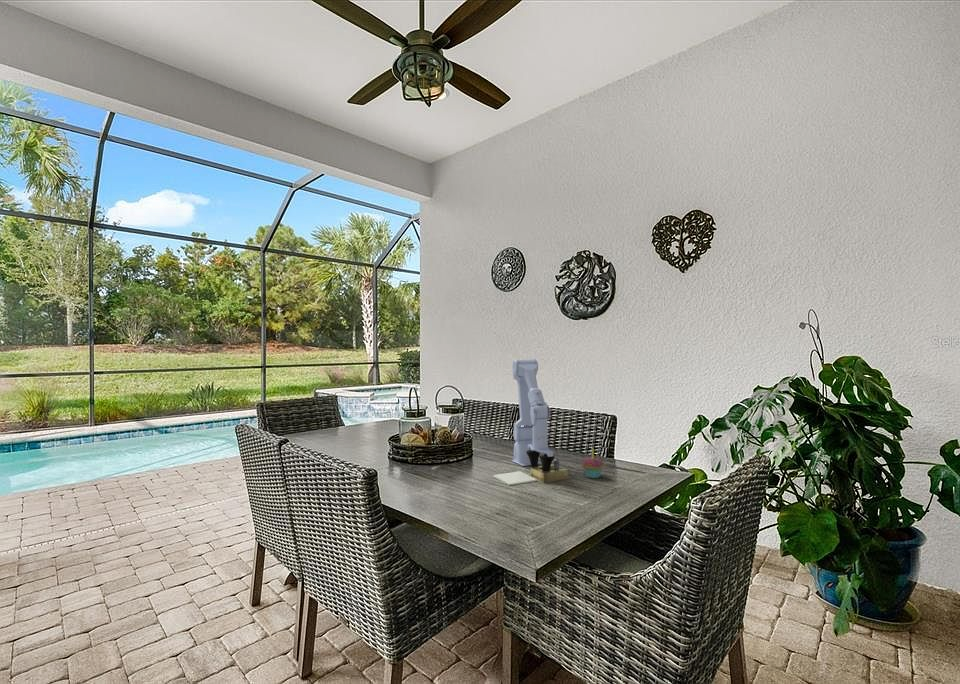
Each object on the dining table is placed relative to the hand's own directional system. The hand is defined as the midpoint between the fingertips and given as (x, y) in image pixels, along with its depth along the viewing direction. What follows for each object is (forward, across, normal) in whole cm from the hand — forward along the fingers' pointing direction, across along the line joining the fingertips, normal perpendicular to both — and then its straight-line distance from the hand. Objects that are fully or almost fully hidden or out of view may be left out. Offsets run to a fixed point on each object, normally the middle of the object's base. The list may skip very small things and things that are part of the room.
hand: (540, 471), depth 177 cm
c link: (+2, +4, +2) cm, 4 cm away
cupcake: (+2, +9, +18) cm, 20 cm away
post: (+2, +3, +5) cm, 6 cm away
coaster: (+2, -1, -11) cm, 11 cm away
